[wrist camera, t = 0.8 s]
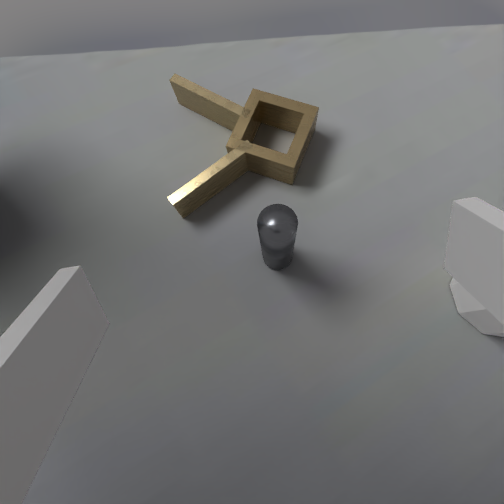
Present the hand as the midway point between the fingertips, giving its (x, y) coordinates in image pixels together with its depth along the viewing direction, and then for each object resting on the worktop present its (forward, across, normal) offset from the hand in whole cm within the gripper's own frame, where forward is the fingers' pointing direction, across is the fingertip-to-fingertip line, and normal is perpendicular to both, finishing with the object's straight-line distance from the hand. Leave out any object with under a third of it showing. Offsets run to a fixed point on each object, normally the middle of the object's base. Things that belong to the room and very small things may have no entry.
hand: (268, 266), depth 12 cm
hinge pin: (+25, +1, -14) cm, 29 cm away
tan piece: (+35, -4, -4) cm, 36 cm away
